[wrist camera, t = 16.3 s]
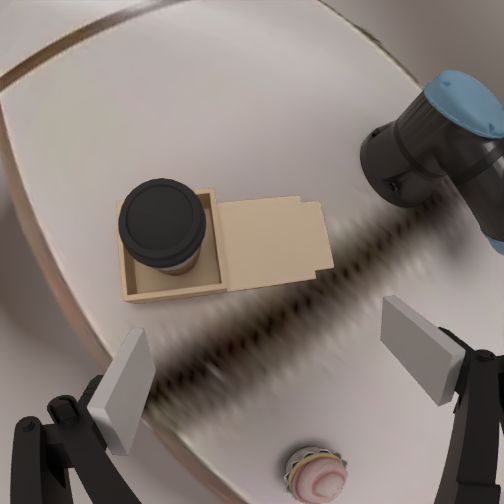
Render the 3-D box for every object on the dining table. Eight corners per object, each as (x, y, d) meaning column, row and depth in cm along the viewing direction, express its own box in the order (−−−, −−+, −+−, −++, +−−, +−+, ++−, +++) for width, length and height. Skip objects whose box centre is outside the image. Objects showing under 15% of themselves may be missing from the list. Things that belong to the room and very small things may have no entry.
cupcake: (270, 488, 35) (285, 523, 26) (282, 435, 37) (303, 465, 28) (328, 487, 36) (353, 518, 26) (342, 437, 38) (374, 461, 29)
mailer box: (317, 195, 46) (331, 178, 40) (333, 275, 43) (352, 268, 37) (128, 216, 41) (116, 200, 35) (134, 303, 39) (123, 301, 33)
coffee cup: (196, 291, 40) (190, 276, 25) (137, 273, 39) (100, 248, 25) (214, 231, 42) (218, 185, 27) (156, 215, 41) (133, 164, 26)
